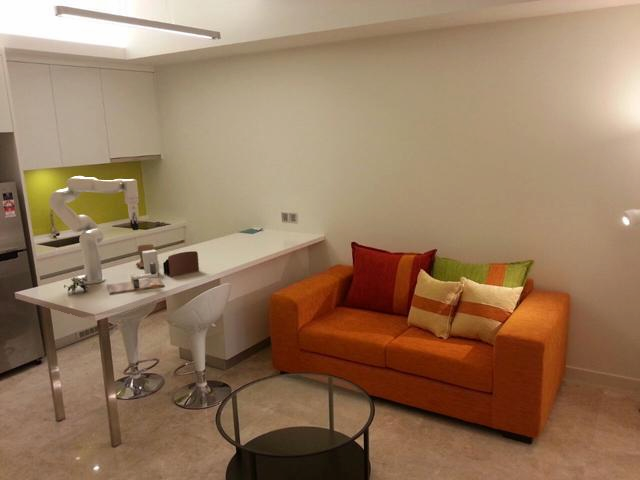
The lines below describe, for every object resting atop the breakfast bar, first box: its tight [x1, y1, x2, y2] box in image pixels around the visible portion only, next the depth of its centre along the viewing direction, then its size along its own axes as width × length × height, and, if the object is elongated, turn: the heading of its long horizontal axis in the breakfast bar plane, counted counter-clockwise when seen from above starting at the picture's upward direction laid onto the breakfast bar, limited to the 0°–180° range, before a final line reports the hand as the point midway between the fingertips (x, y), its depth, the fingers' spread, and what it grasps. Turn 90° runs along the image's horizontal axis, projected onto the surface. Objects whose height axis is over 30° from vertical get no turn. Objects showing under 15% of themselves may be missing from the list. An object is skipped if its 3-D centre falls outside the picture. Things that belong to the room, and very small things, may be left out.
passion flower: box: [63, 276, 90, 295], centre depth 308 cm, size 11×11×12 cm
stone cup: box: [135, 243, 155, 269], centre depth 366 cm, size 15×12×15 cm
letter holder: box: [162, 250, 200, 278], centre depth 345 cm, size 10×20×14 cm, turn 128°
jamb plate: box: [106, 273, 165, 296], centre depth 317 cm, size 30×18×6 cm, turn 115°
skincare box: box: [142, 249, 160, 274], centre depth 345 cm, size 8×6×15 cm
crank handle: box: [132, 263, 159, 280], centre depth 313 cm, size 14×4×8 cm, turn 118°
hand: (134, 228), depth 324 cm, fingers open, 9 cm apart
